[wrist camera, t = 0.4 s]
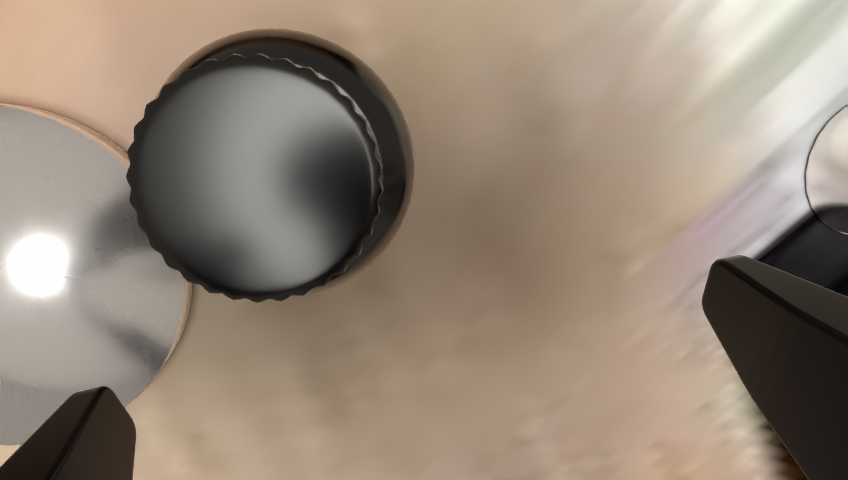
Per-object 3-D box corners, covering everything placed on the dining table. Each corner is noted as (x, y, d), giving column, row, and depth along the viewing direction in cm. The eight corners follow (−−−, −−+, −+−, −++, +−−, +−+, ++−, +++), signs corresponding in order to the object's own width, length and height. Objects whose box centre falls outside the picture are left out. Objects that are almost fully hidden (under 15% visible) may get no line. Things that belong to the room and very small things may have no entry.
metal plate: (101, 472, 24) (85, 495, 22) (-233, 332, 21) (-277, 349, 19) (251, 218, 22) (245, 225, 21) (-85, 29, 19) (-121, 22, 18)
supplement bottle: (422, 118, 22) (504, 119, 11) (343, 262, 23) (340, 409, 11) (265, 27, 21) (161, -88, 9) (187, 185, 22) (1, 265, 10)
